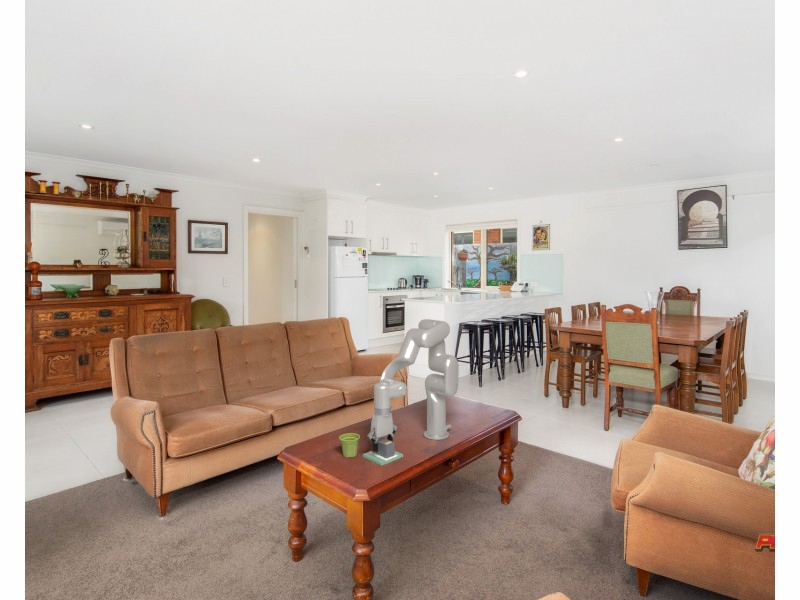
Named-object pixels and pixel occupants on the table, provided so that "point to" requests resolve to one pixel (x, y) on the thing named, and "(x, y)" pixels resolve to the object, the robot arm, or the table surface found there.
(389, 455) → the block
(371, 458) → the header board
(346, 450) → the plant pot
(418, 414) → the table surface
